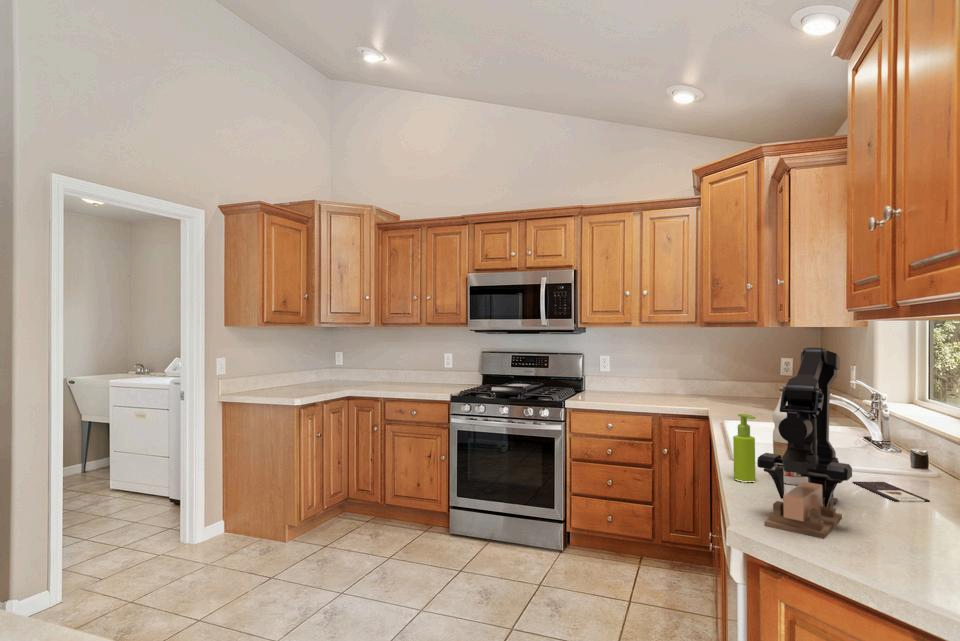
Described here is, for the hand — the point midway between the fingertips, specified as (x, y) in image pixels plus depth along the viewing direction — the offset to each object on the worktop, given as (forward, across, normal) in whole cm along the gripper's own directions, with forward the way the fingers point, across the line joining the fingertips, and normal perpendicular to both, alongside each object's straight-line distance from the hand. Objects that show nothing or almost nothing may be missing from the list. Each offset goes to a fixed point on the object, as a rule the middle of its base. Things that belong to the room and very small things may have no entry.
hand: (803, 502), depth 130 cm
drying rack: (+4, 0, 0) cm, 4 cm away
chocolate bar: (+5, +11, +43) cm, 45 cm away
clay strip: (+2, 0, 0) cm, 2 cm away
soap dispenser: (+5, -22, +28) cm, 36 cm away
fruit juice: (+5, -12, +37) cm, 39 cm away
